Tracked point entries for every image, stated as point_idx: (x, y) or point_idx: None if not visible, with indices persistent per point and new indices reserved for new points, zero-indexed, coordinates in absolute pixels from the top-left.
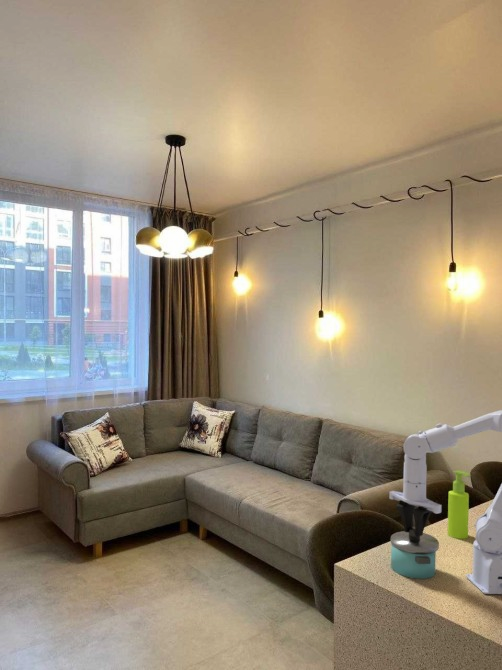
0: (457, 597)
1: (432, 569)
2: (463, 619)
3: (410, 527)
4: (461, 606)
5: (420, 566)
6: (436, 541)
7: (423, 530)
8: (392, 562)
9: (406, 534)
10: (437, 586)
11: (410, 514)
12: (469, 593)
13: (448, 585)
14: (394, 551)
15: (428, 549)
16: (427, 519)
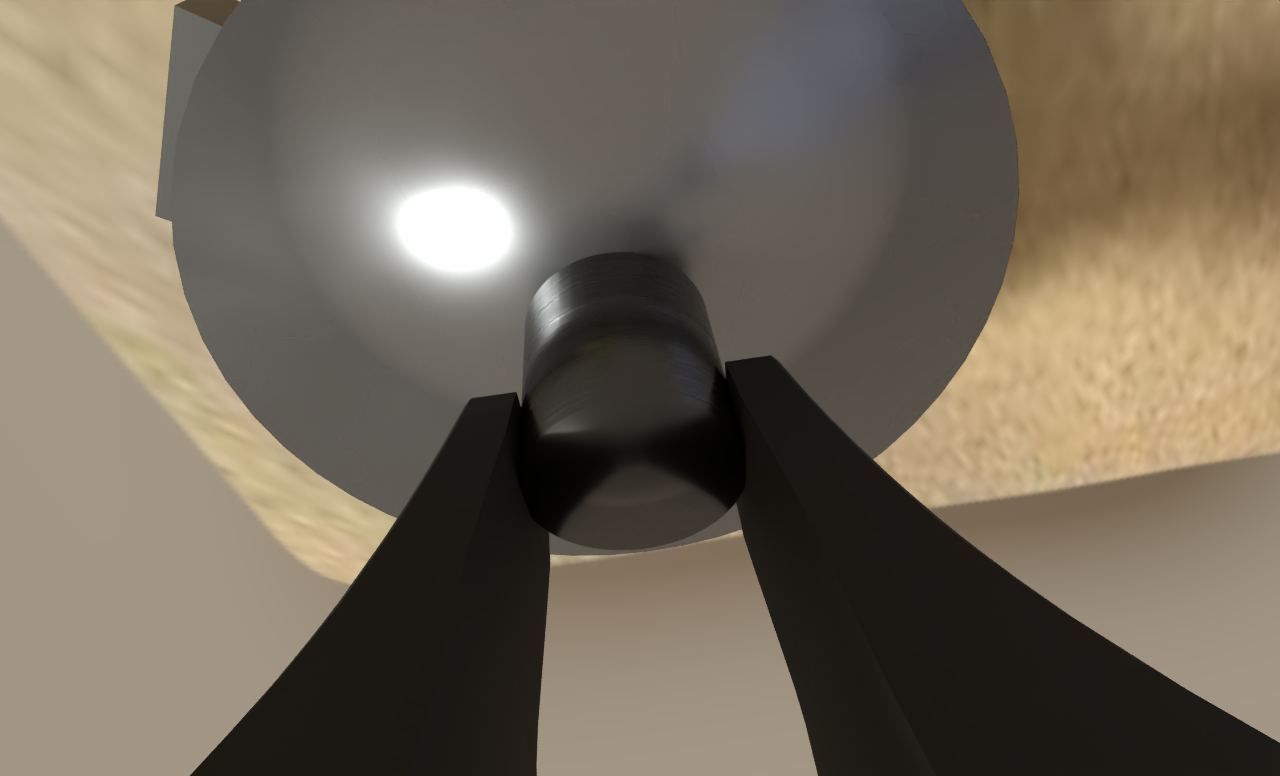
0: (1156, 234)
1: None
2: (1246, 413)
3: (545, 499)
4: (1210, 312)
5: None
6: (923, 34)
7: (813, 401)
8: None
9: (351, 282)
10: None
11: (475, 766)
12: (1242, 67)
13: (1024, 121)
14: None
15: (949, 377)
16: (1037, 599)
